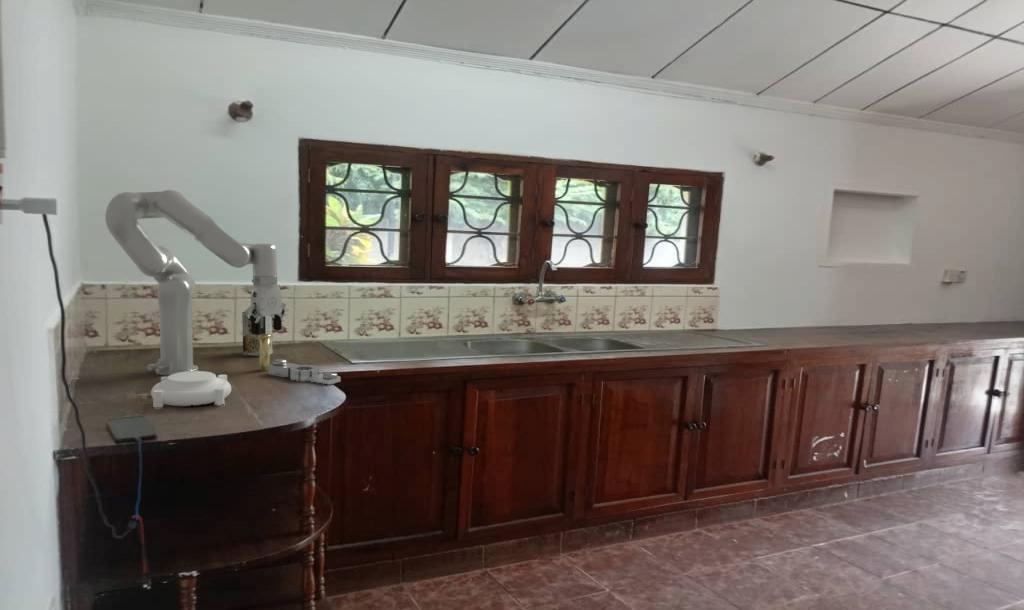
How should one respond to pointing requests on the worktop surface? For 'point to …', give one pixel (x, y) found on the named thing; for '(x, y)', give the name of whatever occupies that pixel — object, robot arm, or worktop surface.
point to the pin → (264, 351)
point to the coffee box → (251, 340)
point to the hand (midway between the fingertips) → (266, 332)
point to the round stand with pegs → (190, 389)
